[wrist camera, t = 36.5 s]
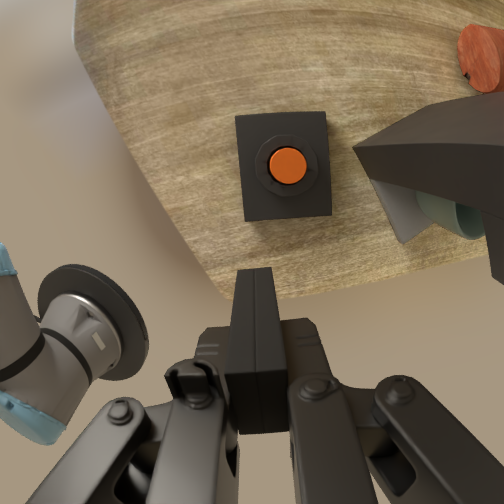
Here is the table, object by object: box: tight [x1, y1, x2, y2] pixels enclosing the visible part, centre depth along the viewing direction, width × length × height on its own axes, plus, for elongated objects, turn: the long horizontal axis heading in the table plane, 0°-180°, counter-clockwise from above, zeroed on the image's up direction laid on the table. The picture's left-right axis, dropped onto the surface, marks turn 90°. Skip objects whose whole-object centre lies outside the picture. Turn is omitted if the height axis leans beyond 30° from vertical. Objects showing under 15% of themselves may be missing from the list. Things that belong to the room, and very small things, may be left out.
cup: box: [415, 190, 485, 240], centre depth 26 cm, size 8×8×10 cm
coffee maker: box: [352, 91, 504, 285], centre depth 20 cm, size 14×14×24 cm
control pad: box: [235, 111, 332, 222], centre depth 30 cm, size 10×12×4 cm
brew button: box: [270, 148, 307, 184], centre depth 27 cm, size 4×4×2 cm
